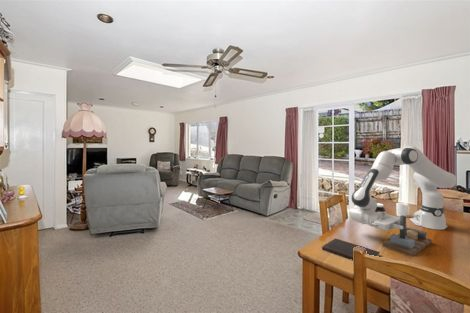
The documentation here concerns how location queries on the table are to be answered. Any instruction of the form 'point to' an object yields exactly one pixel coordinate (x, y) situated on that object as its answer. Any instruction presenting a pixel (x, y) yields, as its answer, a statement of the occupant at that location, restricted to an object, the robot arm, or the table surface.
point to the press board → (419, 245)
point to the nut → (412, 234)
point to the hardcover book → (344, 248)
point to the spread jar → (380, 208)
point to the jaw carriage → (402, 235)
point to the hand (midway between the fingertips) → (404, 226)
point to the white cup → (401, 209)
